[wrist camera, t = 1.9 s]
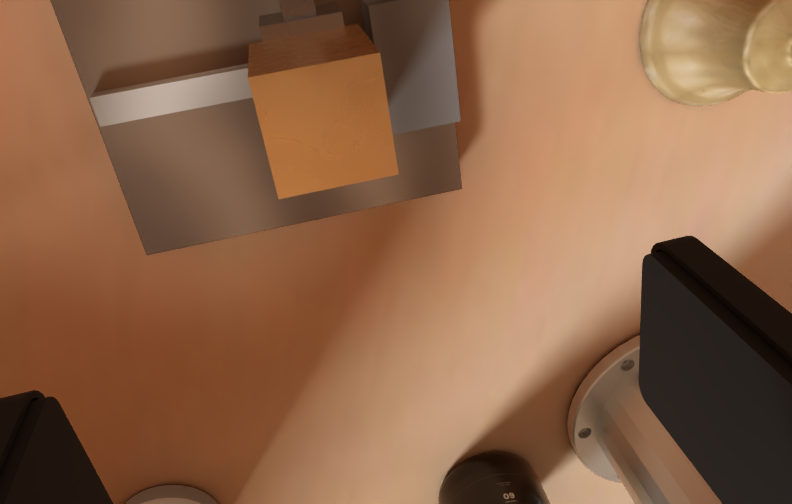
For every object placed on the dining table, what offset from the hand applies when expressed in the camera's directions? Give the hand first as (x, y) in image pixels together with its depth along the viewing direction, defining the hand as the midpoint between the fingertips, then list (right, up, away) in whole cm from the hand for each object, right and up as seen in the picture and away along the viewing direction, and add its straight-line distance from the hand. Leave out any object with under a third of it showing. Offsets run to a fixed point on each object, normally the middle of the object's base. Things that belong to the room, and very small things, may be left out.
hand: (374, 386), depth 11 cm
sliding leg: (-4, +12, +15) cm, 20 cm away
